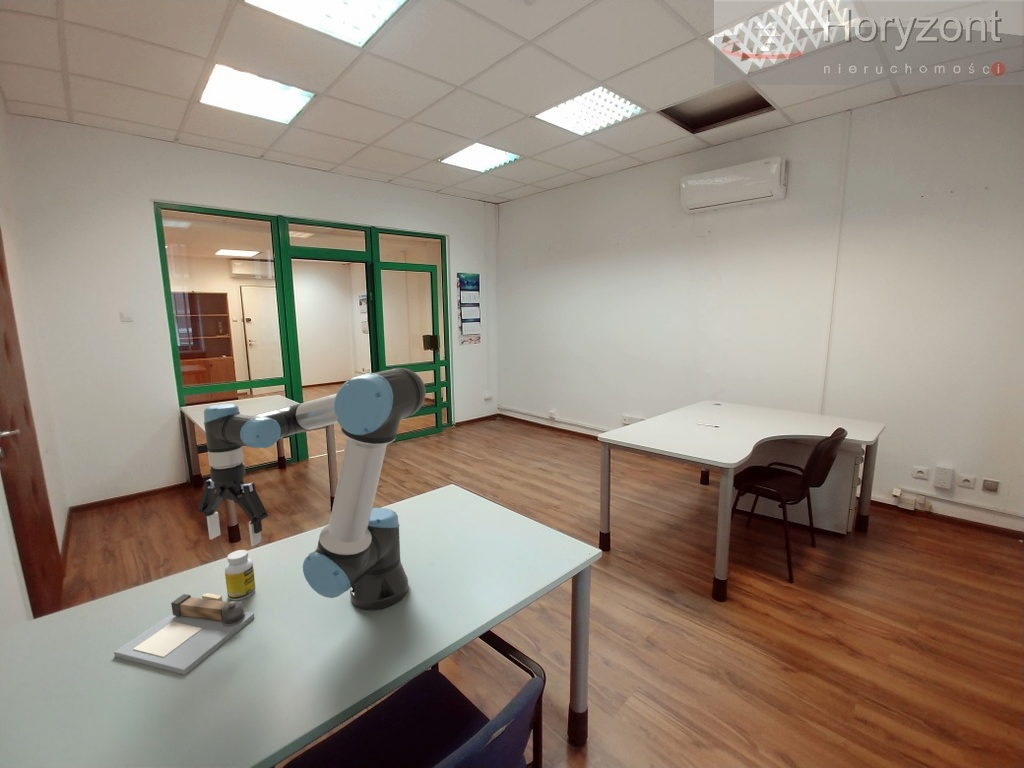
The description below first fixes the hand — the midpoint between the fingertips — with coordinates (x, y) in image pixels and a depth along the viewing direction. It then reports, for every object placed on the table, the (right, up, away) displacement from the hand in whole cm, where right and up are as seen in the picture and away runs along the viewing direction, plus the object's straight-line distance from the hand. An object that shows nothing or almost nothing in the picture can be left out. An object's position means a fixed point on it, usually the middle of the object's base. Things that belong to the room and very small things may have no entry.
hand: (235, 540), depth 117 cm
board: (-3, -18, -13) cm, 22 cm away
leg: (-1, -15, -8) cm, 18 cm away
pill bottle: (0, -16, +2) cm, 16 cm away
